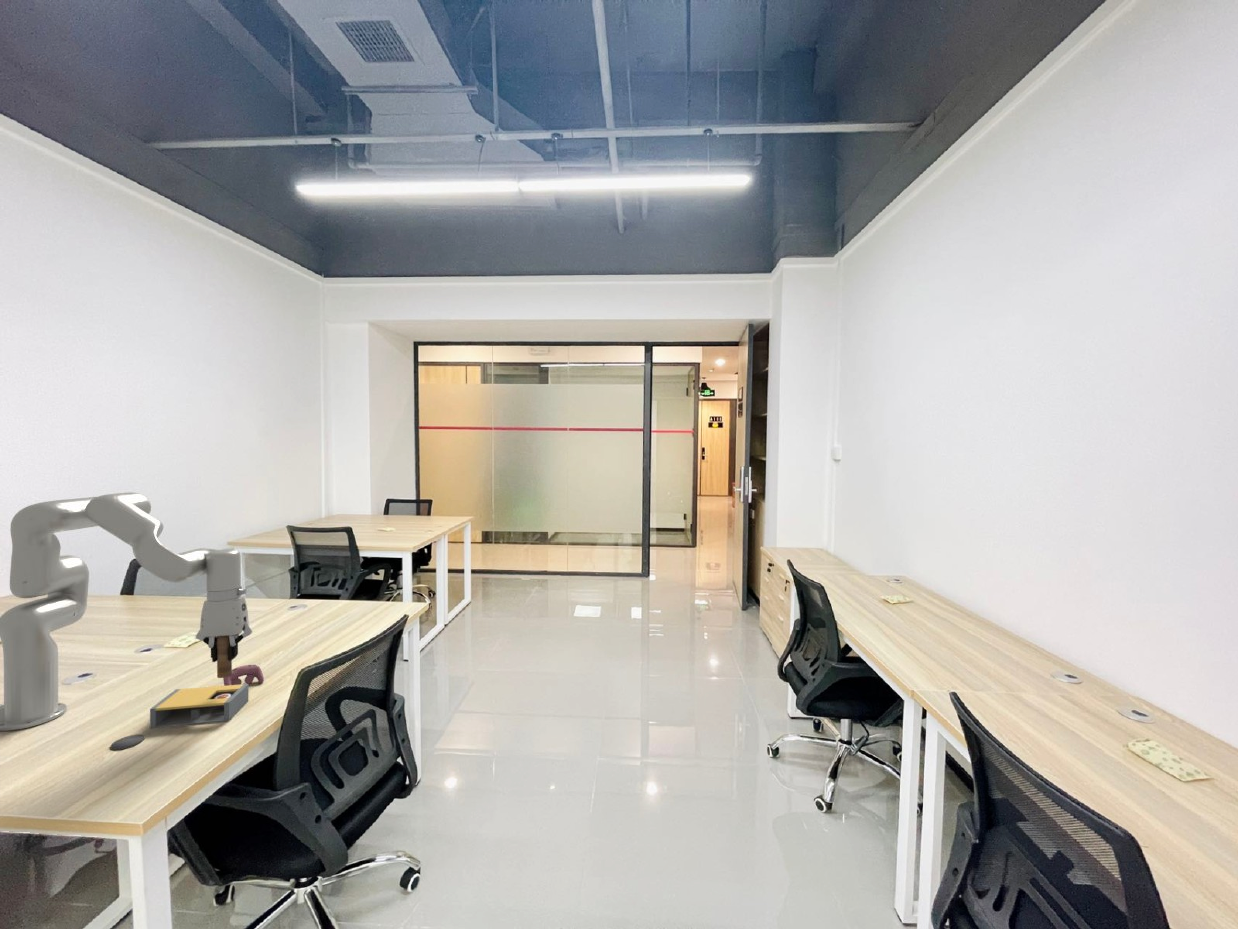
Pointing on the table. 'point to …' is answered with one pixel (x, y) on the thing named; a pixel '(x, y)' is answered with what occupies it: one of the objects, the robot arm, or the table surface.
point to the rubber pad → (127, 742)
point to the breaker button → (223, 696)
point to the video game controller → (244, 670)
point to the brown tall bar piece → (223, 657)
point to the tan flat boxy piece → (198, 706)
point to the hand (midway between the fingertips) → (224, 658)
